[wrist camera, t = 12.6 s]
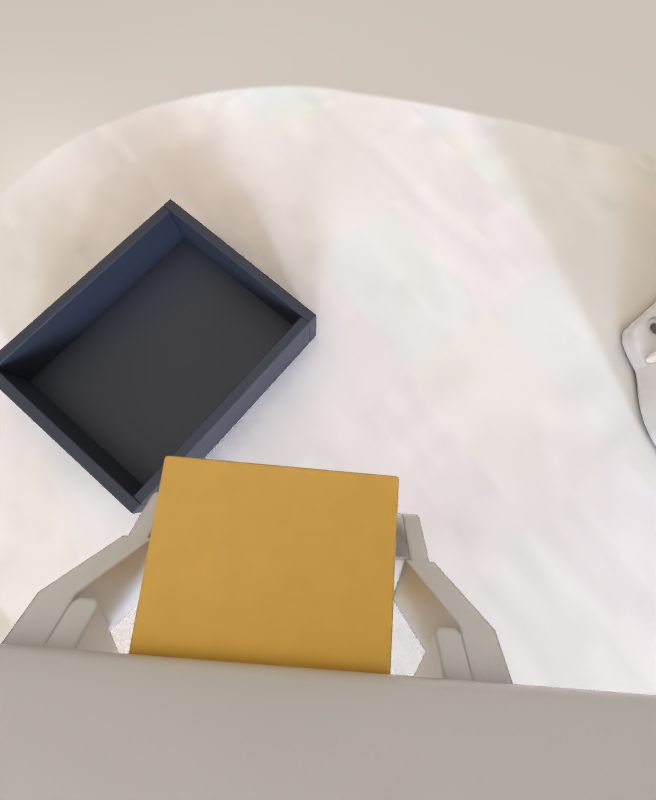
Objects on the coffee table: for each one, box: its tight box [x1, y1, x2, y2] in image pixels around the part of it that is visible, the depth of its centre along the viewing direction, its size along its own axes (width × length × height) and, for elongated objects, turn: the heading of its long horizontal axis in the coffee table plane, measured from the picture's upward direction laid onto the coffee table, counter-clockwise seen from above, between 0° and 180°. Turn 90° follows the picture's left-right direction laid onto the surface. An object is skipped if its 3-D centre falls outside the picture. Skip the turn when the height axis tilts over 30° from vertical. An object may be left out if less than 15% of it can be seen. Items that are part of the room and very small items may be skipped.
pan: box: [0, 199, 316, 513], centre depth 26 cm, size 16×13×4 cm
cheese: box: [129, 456, 399, 674], centre depth 12 cm, size 5×4×9 cm
